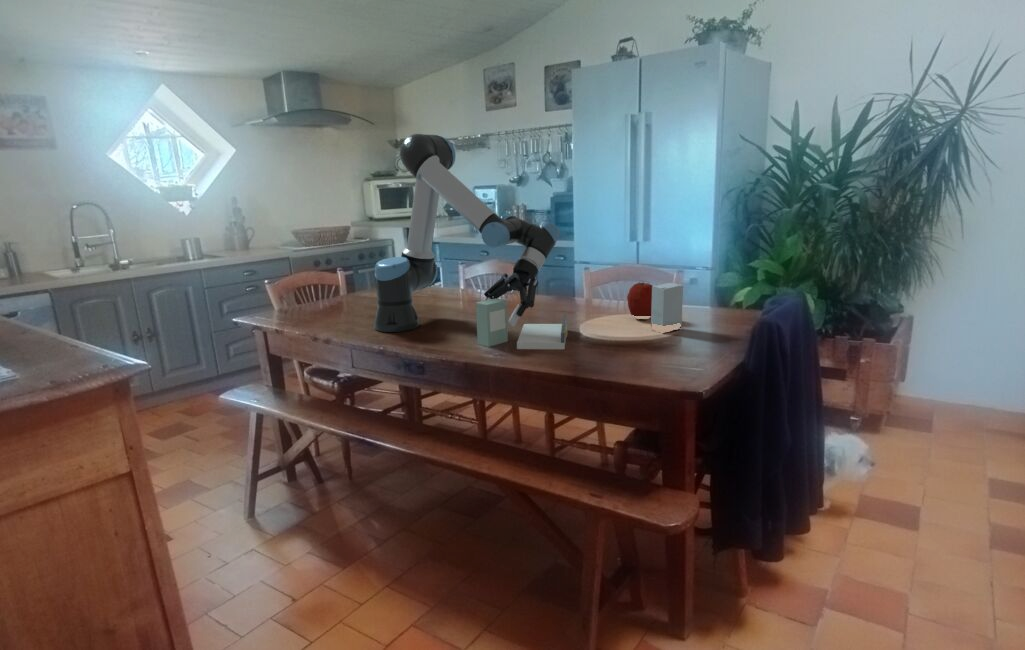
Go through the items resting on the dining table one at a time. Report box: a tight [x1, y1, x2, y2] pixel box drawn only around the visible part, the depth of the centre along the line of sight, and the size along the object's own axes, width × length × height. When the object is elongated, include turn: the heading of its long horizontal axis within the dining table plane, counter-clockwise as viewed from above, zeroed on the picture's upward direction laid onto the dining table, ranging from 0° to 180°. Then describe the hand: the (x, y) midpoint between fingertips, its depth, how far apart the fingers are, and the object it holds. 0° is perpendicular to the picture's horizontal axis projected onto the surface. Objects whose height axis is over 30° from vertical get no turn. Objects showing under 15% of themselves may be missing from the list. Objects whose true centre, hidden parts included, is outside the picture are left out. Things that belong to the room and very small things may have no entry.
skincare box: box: [650, 282, 684, 326], centre depth 188 cm, size 8×6×15 cm
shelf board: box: [516, 314, 568, 350], centre depth 184 cm, size 15×22×5 cm, turn 173°
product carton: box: [475, 298, 509, 348], centre depth 181 cm, size 5×8×13 cm, turn 133°
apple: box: [627, 282, 654, 316], centre depth 203 cm, size 10×10×14 cm
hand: (495, 320), depth 181 cm, fingers open, 13 cm apart
